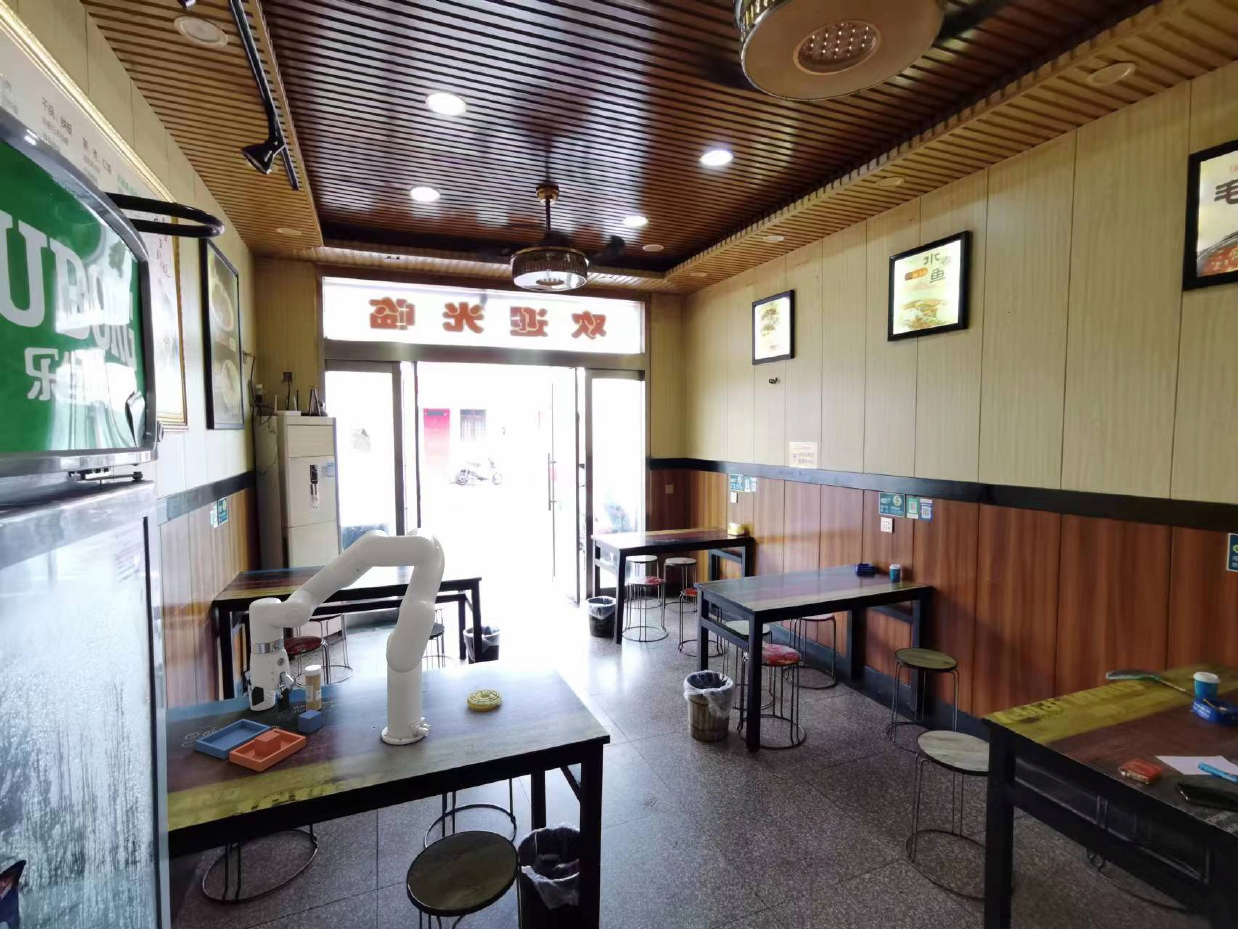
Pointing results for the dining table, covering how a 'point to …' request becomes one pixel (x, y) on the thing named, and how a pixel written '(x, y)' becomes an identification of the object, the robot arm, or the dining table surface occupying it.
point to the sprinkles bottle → (313, 687)
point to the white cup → (268, 700)
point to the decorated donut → (484, 700)
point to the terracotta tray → (251, 760)
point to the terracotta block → (267, 743)
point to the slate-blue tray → (230, 738)
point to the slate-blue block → (309, 721)
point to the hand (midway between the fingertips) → (270, 707)
